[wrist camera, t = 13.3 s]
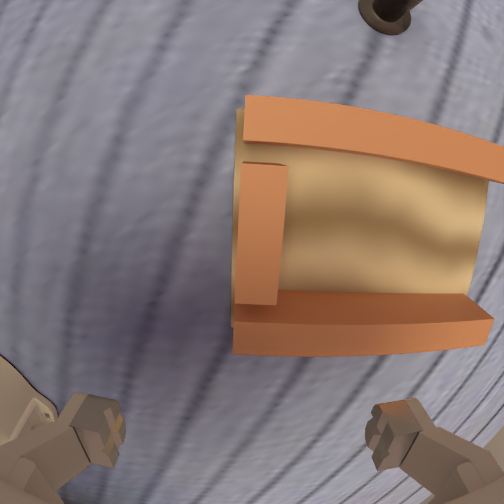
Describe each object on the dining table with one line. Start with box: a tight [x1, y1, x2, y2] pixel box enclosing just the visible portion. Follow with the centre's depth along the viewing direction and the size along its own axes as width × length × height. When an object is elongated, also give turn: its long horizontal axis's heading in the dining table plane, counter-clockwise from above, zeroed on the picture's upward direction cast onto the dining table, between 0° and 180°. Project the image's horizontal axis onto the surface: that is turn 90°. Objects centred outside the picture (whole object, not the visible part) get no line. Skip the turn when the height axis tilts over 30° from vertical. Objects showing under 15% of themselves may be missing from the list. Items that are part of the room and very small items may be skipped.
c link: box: [233, 95, 504, 357], centre depth 20 cm, size 20×15×5 cm
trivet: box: [231, 109, 488, 328], centre depth 23 cm, size 16×21×1 cm
